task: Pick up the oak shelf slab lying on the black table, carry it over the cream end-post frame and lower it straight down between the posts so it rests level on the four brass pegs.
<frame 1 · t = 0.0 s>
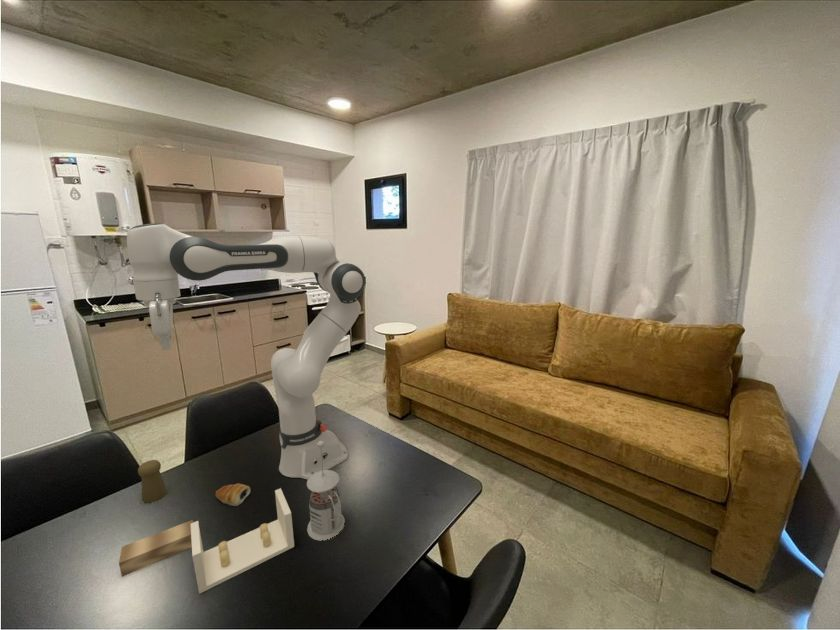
hand: (167, 344, 87), 48 cm above the table, fingers open, 8 cm apart
french press: (328, 527, 90), on the table
pastry: (233, 498, 100), on the table
cork: (155, 496, 101), on the table
shelf board: (161, 553, 83), on the table
peg frame: (246, 552, 83), on the table
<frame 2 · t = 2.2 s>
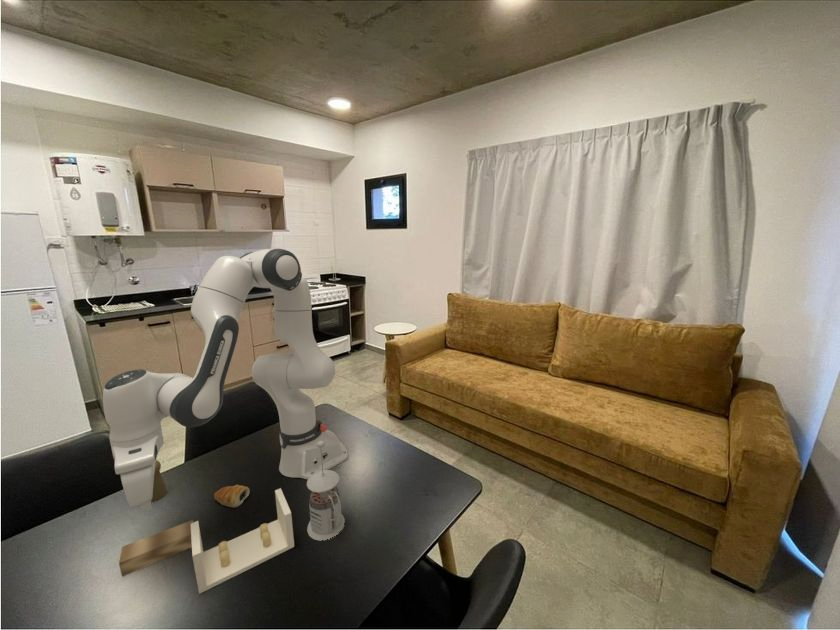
hand: (148, 496, 79), 16 cm above the table, fingers open, 8 cm apart
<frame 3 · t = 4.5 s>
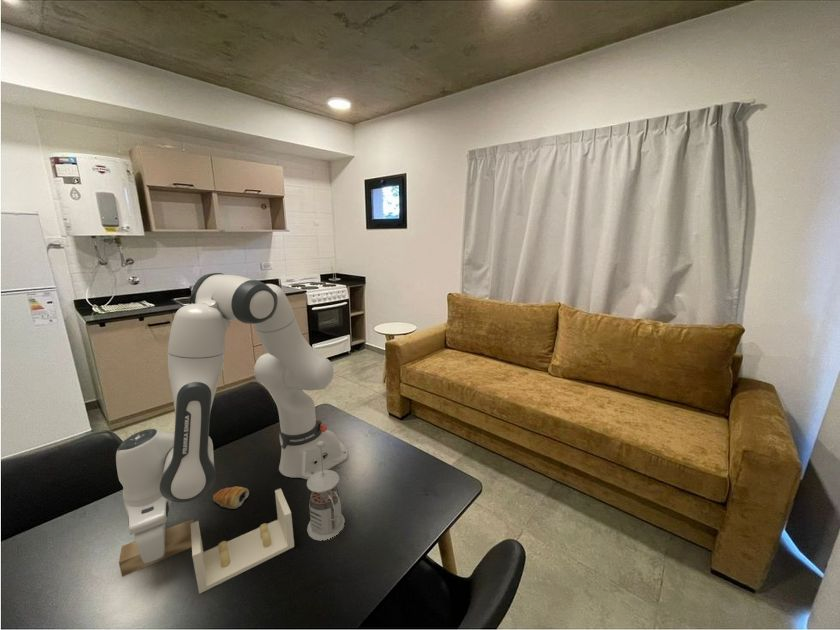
hand: (159, 546, 82), 2 cm above the table, fingers closed on shelf board, 5 cm apart
shelf board: (161, 552, 83), on the table, touching gripper
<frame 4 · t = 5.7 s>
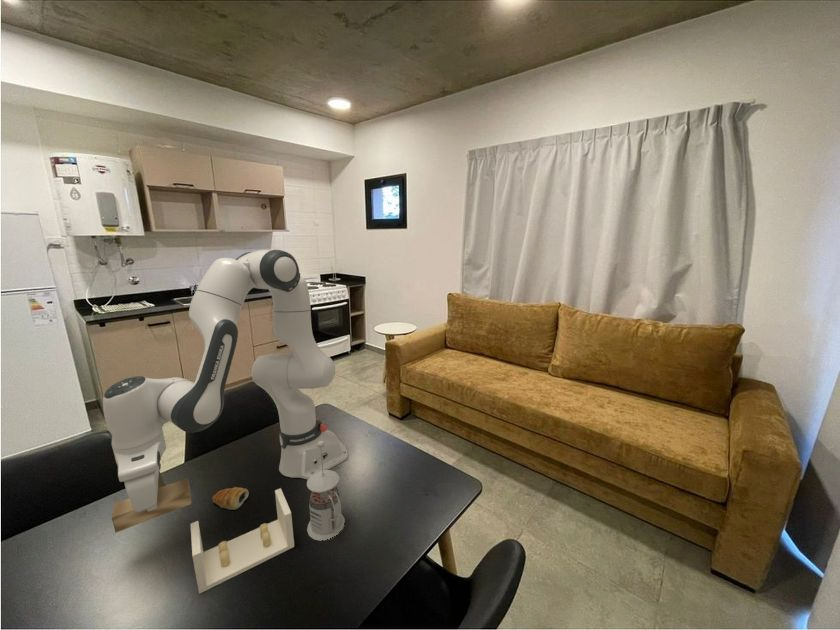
hand: (153, 499, 80), 15 cm above the table, fingers closed on shelf board, 5 cm apart
shelf board: (155, 510, 81), point 11 cm above the table, touching gripper
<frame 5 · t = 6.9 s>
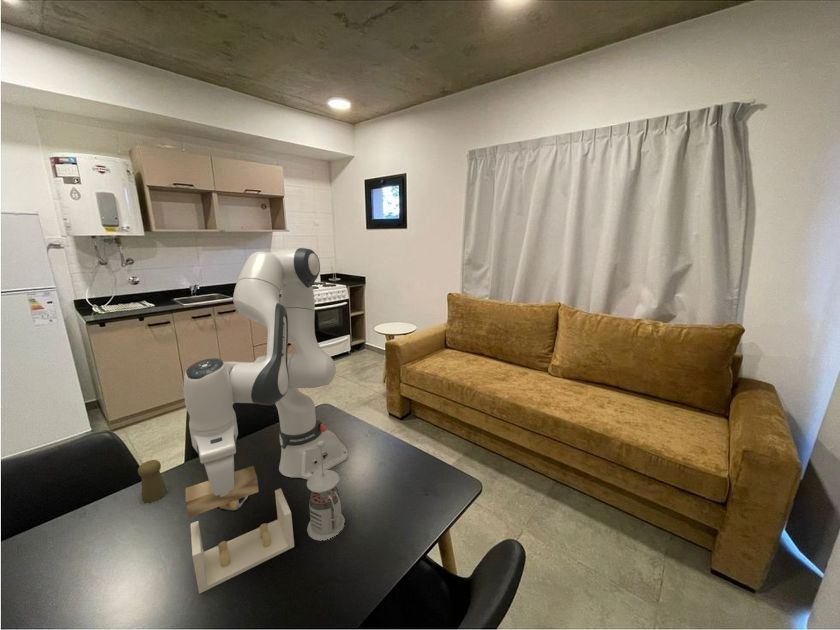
hand: (223, 485, 79), 19 cm above the table, fingers closed on shelf board, 5 cm apart
shelf board: (224, 497, 79), point 16 cm above the table, touching gripper
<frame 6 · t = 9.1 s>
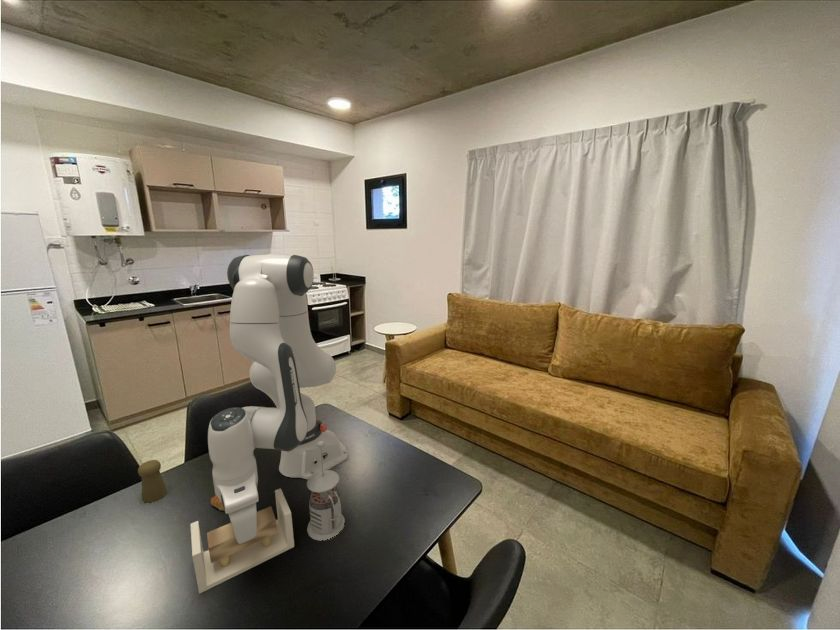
hand: (242, 529, 81), 7 cm above the table, fingers closed on shelf board, 5 cm apart
shelf board: (243, 539, 82), point 4 cm above the table, touching gripper, peg frame
when the fingers open (7 cm above the table, at t = 9.2 s): shelf board stays where it is, resting on peg frame.
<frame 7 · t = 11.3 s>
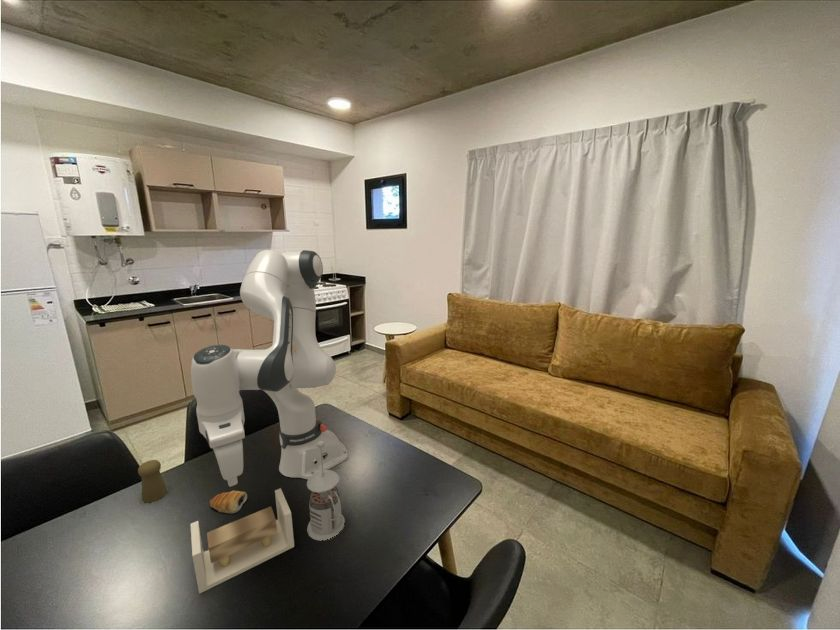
hand: (229, 471, 79), 22 cm above the table, fingers open, 8 cm apart
shelf board: (243, 539, 82), point 4 cm above the table, touching peg frame
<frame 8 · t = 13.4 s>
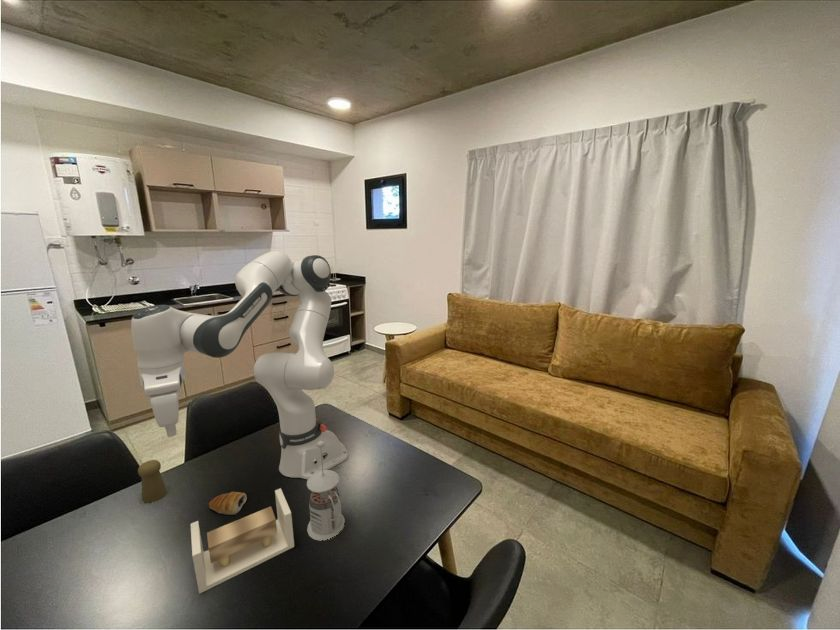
hand: (172, 426, 84), 29 cm above the table, fingers open, 8 cm apart
at the end: shelf board 0.2 cm off-centre on the peg frame, point 4.0 cm above the peg frame's base; shelf board tilted 0°; the gripper is holding nothing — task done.
